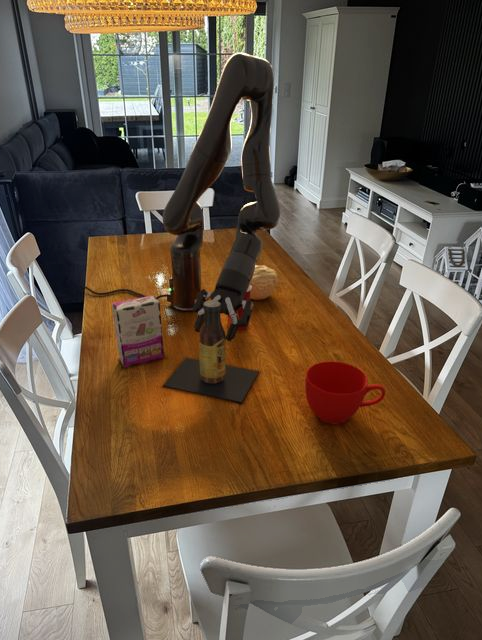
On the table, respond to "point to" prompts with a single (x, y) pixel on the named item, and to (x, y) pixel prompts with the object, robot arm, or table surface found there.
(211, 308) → the sauce bottle
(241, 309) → the paper cup
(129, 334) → the candy bar box
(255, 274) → the sculpture
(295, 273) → the table surface
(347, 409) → the ceramic cup
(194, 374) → the placemat
